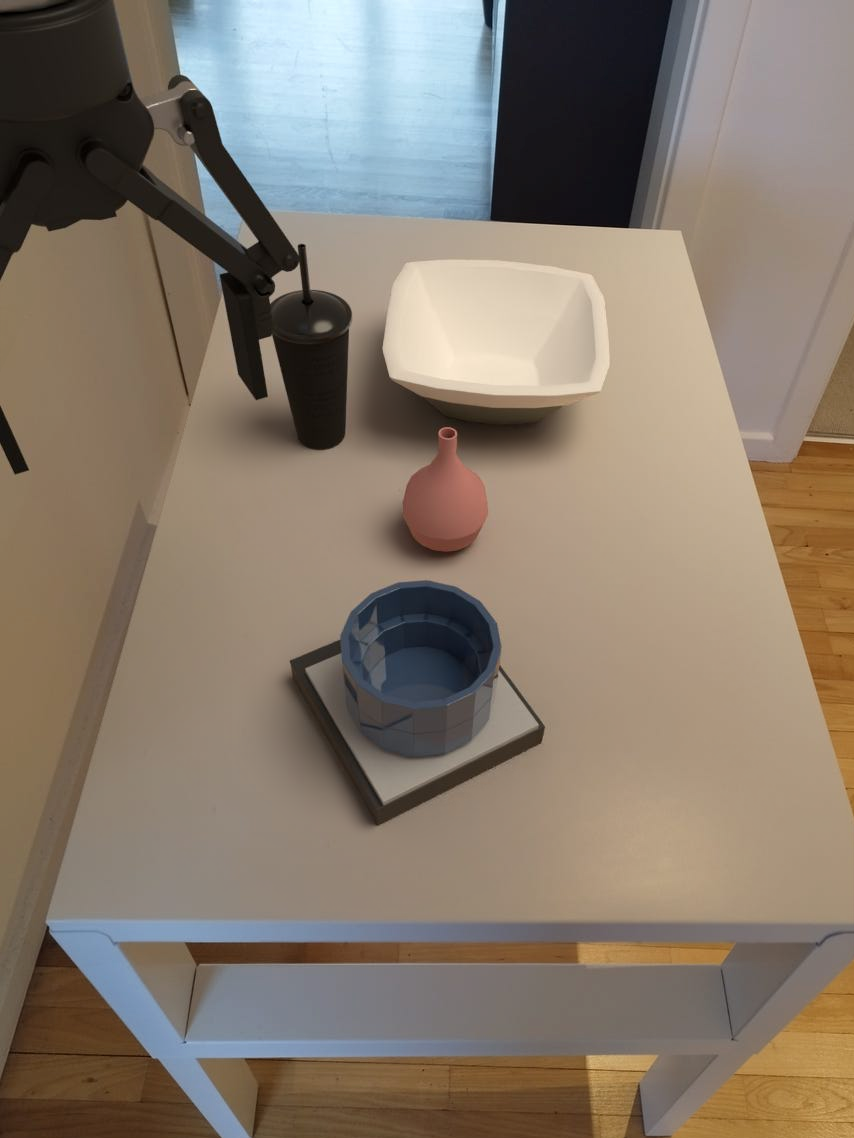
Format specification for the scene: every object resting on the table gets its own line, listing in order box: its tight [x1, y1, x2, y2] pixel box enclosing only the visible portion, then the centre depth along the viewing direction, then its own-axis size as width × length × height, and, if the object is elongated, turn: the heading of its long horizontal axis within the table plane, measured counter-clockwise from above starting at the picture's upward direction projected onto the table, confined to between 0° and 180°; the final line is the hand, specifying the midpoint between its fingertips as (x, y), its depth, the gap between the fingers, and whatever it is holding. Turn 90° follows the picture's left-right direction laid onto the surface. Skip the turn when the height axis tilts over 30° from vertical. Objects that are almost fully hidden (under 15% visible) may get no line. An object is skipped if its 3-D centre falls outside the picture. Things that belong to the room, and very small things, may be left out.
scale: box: [289, 639, 546, 826], centre depth 71 cm, size 15×14×3 cm
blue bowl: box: [339, 579, 503, 757], centre depth 67 cm, size 11×11×7 cm
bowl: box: [382, 258, 611, 425], centre depth 94 cm, size 22×23×8 cm
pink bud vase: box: [402, 426, 489, 553], centre depth 79 cm, size 8×8×12 cm
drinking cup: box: [270, 243, 353, 450], centre depth 84 cm, size 8×8×20 cm
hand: (139, 420), depth 51 cm, fingers open, 13 cm apart
